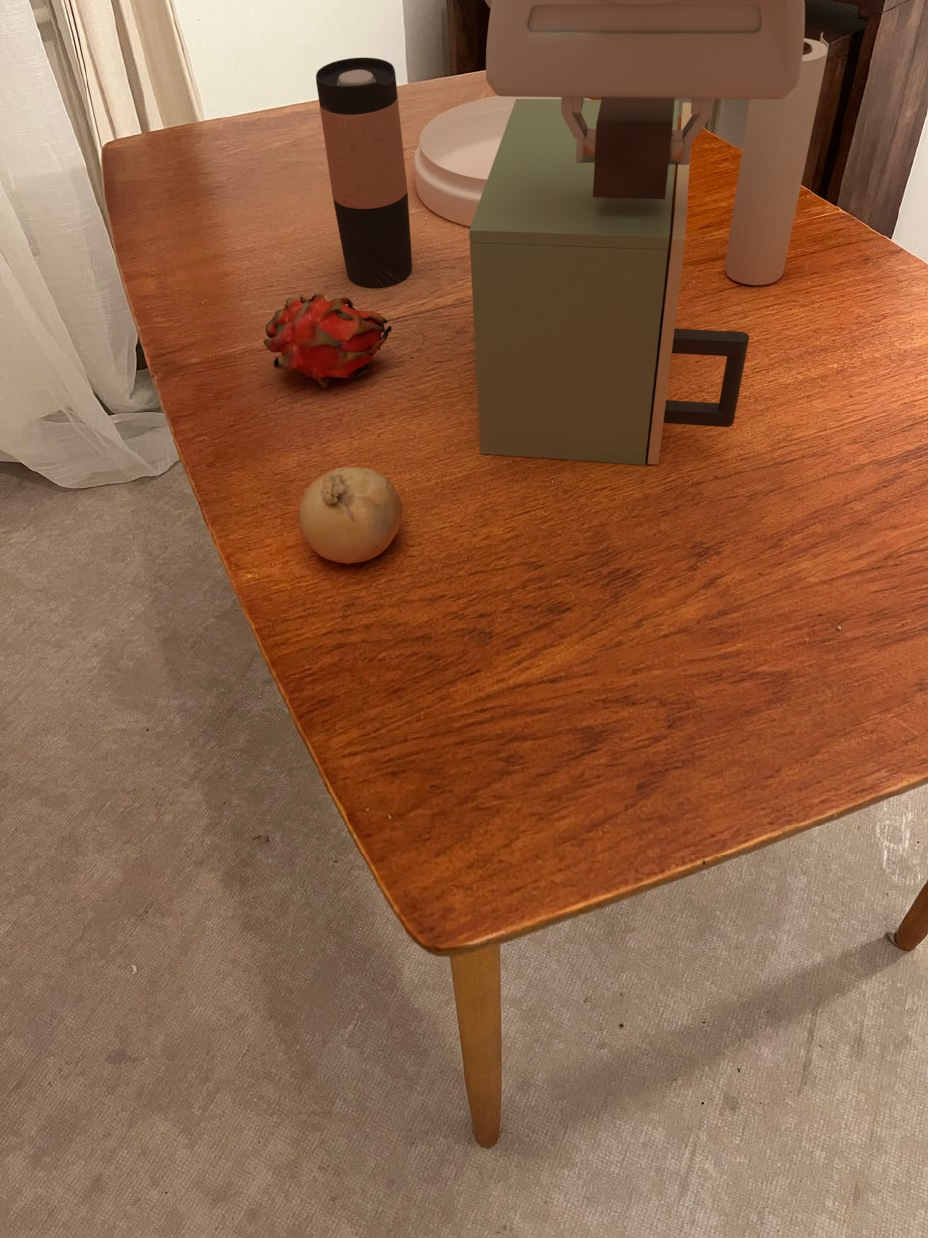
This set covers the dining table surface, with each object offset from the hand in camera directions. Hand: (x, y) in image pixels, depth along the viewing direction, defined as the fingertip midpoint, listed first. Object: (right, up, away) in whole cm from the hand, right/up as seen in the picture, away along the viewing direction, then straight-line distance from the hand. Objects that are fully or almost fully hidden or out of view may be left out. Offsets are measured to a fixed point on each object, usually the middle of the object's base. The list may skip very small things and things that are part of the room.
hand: (633, 160), depth 69 cm
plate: (-4, +21, +51) cm, 55 cm away
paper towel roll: (+19, +4, +33) cm, 39 cm away
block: (0, -1, +1) cm, 2 cm away
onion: (-20, -26, +9) cm, 34 cm away
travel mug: (-21, +5, +38) cm, 44 cm away
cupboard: (-2, -10, +22) cm, 24 cm away
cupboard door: (+9, -11, +20) cm, 25 cm away
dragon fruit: (-24, -8, +25) cm, 36 cm away
